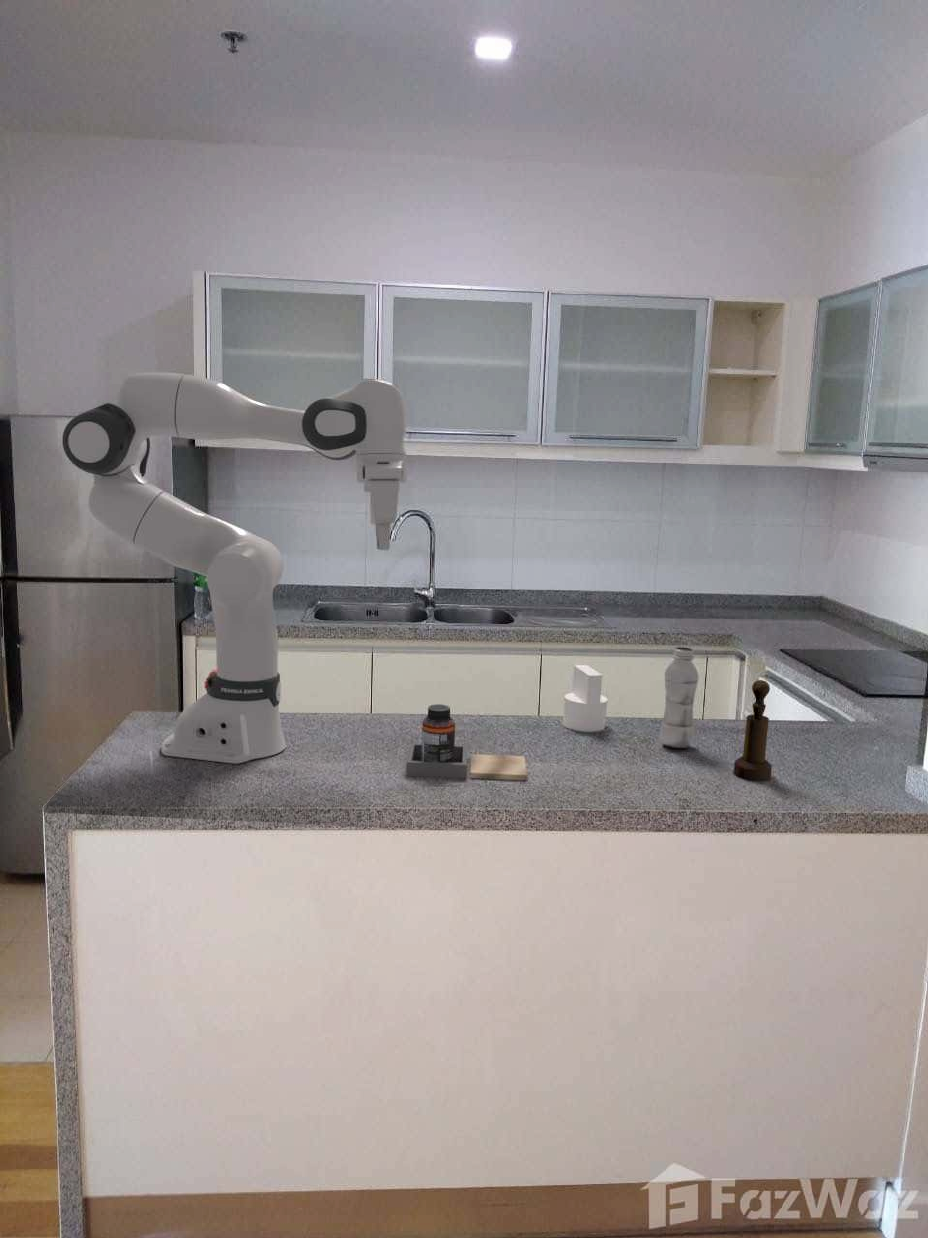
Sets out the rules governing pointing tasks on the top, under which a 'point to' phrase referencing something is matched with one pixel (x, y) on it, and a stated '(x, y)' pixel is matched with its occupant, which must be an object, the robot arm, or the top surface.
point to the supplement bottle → (438, 735)
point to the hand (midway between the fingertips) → (383, 549)
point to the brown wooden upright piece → (755, 740)
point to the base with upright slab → (585, 701)
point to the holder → (436, 764)
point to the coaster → (498, 767)
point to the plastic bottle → (679, 700)
